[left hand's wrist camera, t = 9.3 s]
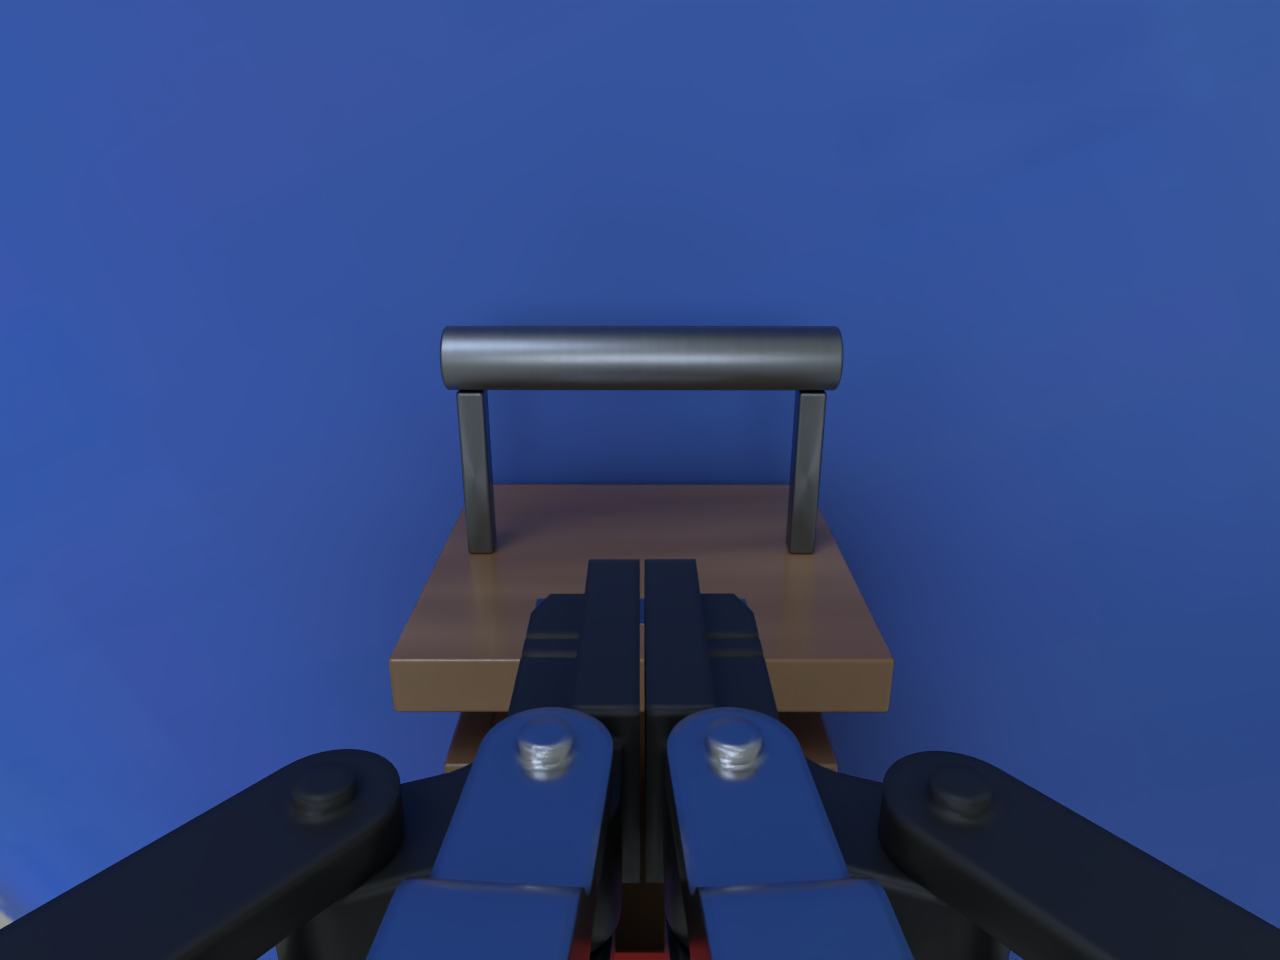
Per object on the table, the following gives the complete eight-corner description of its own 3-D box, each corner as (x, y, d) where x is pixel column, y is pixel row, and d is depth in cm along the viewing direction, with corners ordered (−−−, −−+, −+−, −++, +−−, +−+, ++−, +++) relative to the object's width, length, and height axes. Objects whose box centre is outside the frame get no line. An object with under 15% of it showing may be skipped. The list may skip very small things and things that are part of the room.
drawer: (460, 294, 23) (353, 383, 14) (822, 294, 23) (930, 383, 14) (506, 936, 31) (455, 1236, 22) (774, 937, 31) (825, 1237, 22)
